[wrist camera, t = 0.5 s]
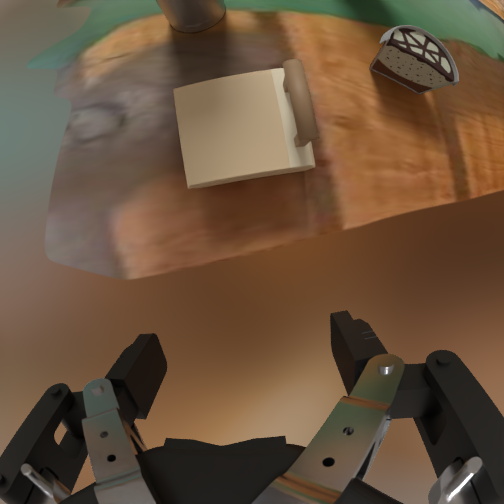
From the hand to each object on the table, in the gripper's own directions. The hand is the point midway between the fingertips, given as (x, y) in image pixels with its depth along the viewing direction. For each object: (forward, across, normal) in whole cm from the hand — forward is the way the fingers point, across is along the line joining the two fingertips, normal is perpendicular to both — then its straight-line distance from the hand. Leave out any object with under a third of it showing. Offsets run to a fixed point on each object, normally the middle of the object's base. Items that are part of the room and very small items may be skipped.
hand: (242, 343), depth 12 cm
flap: (+19, -1, -13) cm, 24 cm away
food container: (+28, -27, -23) cm, 45 cm away
